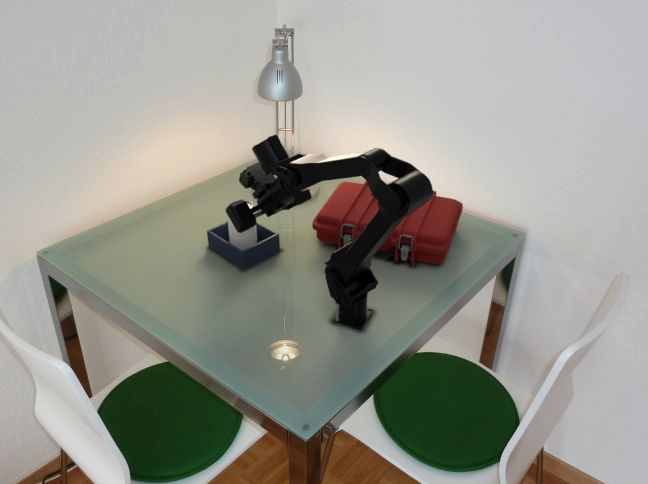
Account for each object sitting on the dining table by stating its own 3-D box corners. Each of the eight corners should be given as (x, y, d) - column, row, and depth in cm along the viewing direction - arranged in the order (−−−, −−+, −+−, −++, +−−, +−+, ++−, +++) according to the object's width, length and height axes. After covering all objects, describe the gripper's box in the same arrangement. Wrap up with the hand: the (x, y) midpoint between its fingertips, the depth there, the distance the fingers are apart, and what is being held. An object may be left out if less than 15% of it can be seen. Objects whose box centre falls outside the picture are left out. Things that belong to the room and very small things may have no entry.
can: (256, 256, 148) (253, 212, 141) (229, 256, 148) (224, 213, 142) (258, 241, 153) (255, 198, 147) (232, 241, 153) (228, 198, 147)
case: (280, 250, 150) (279, 233, 147) (243, 270, 143) (241, 253, 141) (244, 229, 158) (243, 213, 155) (208, 247, 152) (206, 230, 149)
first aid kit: (461, 223, 159) (465, 193, 154) (443, 275, 140) (447, 242, 136) (341, 202, 169) (341, 173, 164) (309, 247, 151) (309, 217, 146)
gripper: (295, 143, 136) (264, 172, 148) (227, 172, 125) (200, 201, 138) (321, 188, 135) (288, 213, 148) (255, 220, 124) (225, 245, 137)
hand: (251, 217), depth 143 cm, fingers open, 9 cm apart
